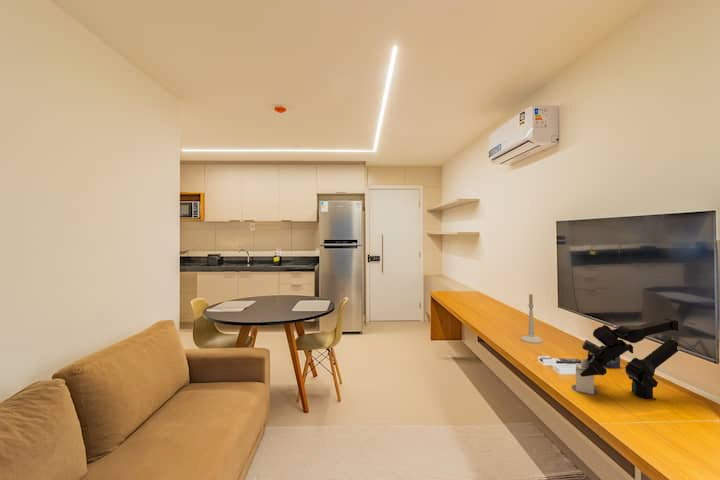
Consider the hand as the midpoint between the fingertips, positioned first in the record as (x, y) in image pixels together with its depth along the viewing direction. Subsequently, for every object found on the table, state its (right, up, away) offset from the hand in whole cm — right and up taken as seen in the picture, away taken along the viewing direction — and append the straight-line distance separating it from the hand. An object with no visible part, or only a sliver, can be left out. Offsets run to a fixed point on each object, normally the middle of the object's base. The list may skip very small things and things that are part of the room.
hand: (580, 371), depth 150 cm
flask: (+31, -7, +25) cm, 41 cm away
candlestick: (+13, -7, +70) cm, 72 cm away
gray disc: (+1, -9, 0) cm, 9 cm away
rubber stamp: (+1, -8, 0) cm, 8 cm away
